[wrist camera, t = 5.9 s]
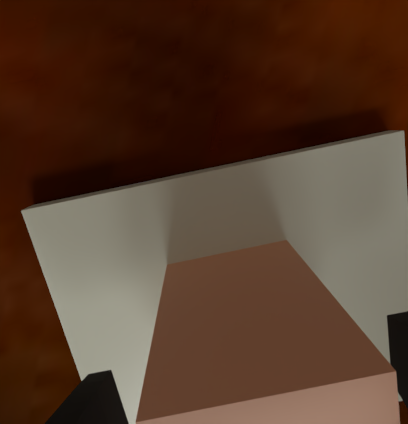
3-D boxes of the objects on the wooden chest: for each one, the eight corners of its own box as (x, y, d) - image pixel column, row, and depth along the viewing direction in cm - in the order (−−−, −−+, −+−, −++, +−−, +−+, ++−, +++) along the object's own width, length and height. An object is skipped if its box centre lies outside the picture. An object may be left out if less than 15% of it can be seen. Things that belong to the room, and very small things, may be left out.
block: (286, 239, 11) (396, 371, 5) (302, 344, 12) (409, 556, 6) (166, 264, 11) (135, 422, 5) (192, 366, 12) (191, 596, 6)
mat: (388, 130, 11) (404, 130, 10) (404, 382, 13) (417, 397, 12) (33, 204, 11) (21, 210, 10) (113, 438, 13) (108, 456, 13)
